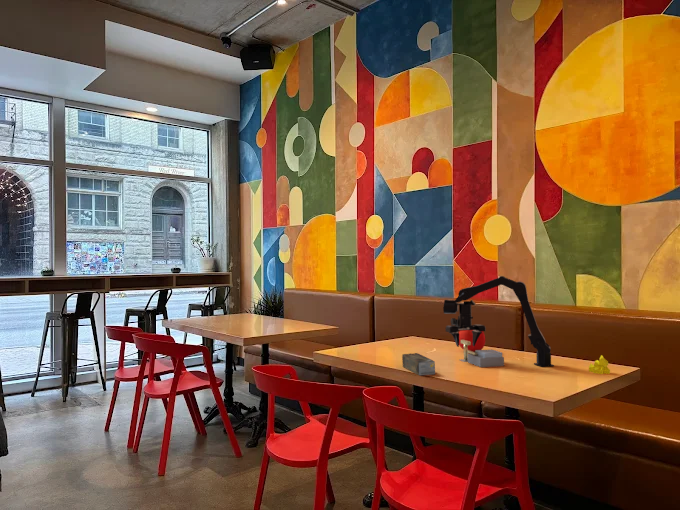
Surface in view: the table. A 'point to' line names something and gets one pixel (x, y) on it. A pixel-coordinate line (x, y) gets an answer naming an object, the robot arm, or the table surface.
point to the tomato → (471, 340)
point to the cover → (488, 353)
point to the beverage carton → (418, 364)
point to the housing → (484, 361)
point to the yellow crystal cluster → (600, 366)
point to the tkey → (467, 349)
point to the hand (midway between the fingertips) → (465, 346)
